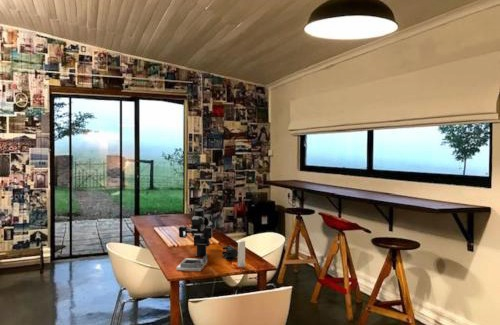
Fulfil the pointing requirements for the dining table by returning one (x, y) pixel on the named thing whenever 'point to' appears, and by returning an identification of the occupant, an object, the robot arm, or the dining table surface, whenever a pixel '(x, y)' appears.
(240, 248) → the white tapered cylinder
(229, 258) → the end cap
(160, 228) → the dining table surface
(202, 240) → the robot arm
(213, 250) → the dining table surface
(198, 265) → the jig
